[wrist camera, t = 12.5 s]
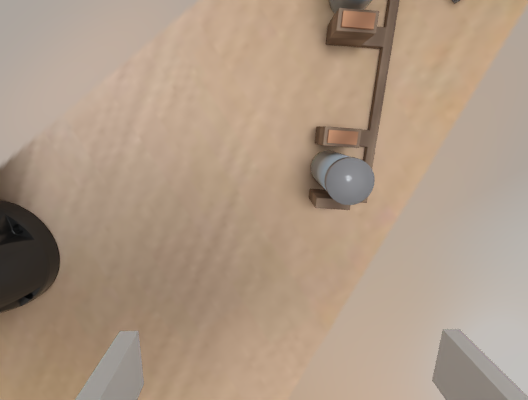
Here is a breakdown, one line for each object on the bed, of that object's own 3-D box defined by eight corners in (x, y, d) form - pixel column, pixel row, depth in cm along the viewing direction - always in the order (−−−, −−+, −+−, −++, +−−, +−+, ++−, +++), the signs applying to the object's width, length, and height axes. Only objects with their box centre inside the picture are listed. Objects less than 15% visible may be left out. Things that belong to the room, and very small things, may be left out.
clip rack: (308, 197, 38) (316, 208, 33) (335, -49, 31) (350, -83, 26) (364, 201, 38) (380, 212, 33) (403, -43, 31) (431, -76, 26)
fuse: (308, 183, 38) (324, 203, 28) (311, 148, 37) (329, 156, 27) (342, 185, 38) (370, 206, 28) (347, 150, 37) (378, 159, 27)
